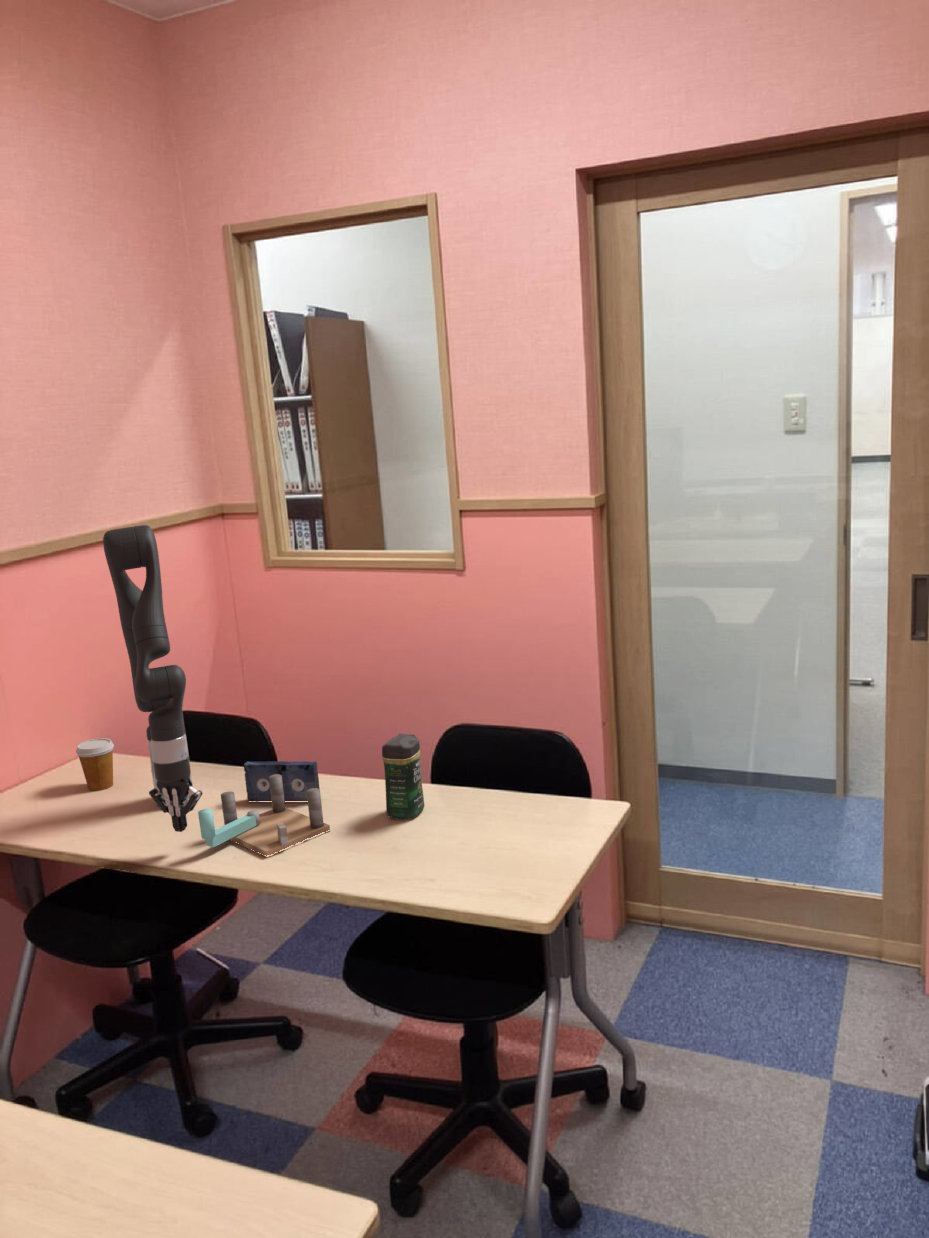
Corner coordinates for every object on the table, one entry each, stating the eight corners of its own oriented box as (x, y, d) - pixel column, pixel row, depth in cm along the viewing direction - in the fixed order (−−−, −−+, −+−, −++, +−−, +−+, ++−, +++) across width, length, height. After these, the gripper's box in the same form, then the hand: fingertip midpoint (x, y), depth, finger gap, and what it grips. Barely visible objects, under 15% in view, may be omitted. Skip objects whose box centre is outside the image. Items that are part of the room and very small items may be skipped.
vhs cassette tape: (321, 799, 248) (317, 760, 246) (317, 803, 245) (313, 765, 243) (252, 797, 252) (247, 760, 250) (247, 802, 249) (242, 764, 247)
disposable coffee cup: (93, 780, 273) (86, 738, 270) (125, 779, 271) (119, 737, 269) (75, 793, 264) (68, 750, 261) (109, 793, 262) (102, 749, 260)
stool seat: (220, 835, 230) (215, 794, 228) (281, 811, 242) (277, 772, 240) (269, 858, 216) (264, 815, 214) (332, 831, 228) (327, 790, 226)
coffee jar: (414, 822, 230) (407, 745, 226) (382, 819, 233) (375, 743, 229) (429, 805, 239) (423, 731, 235) (399, 803, 242) (392, 730, 238)
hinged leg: (254, 820, 233) (250, 787, 231) (263, 822, 231) (259, 789, 230) (199, 847, 220) (195, 812, 218) (209, 850, 218) (204, 815, 217)
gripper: (134, 760, 217) (145, 834, 221) (185, 763, 213) (195, 840, 216) (156, 748, 224) (166, 821, 228) (206, 751, 220) (215, 825, 223)
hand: (180, 830), depth 222 cm, fingers closed
